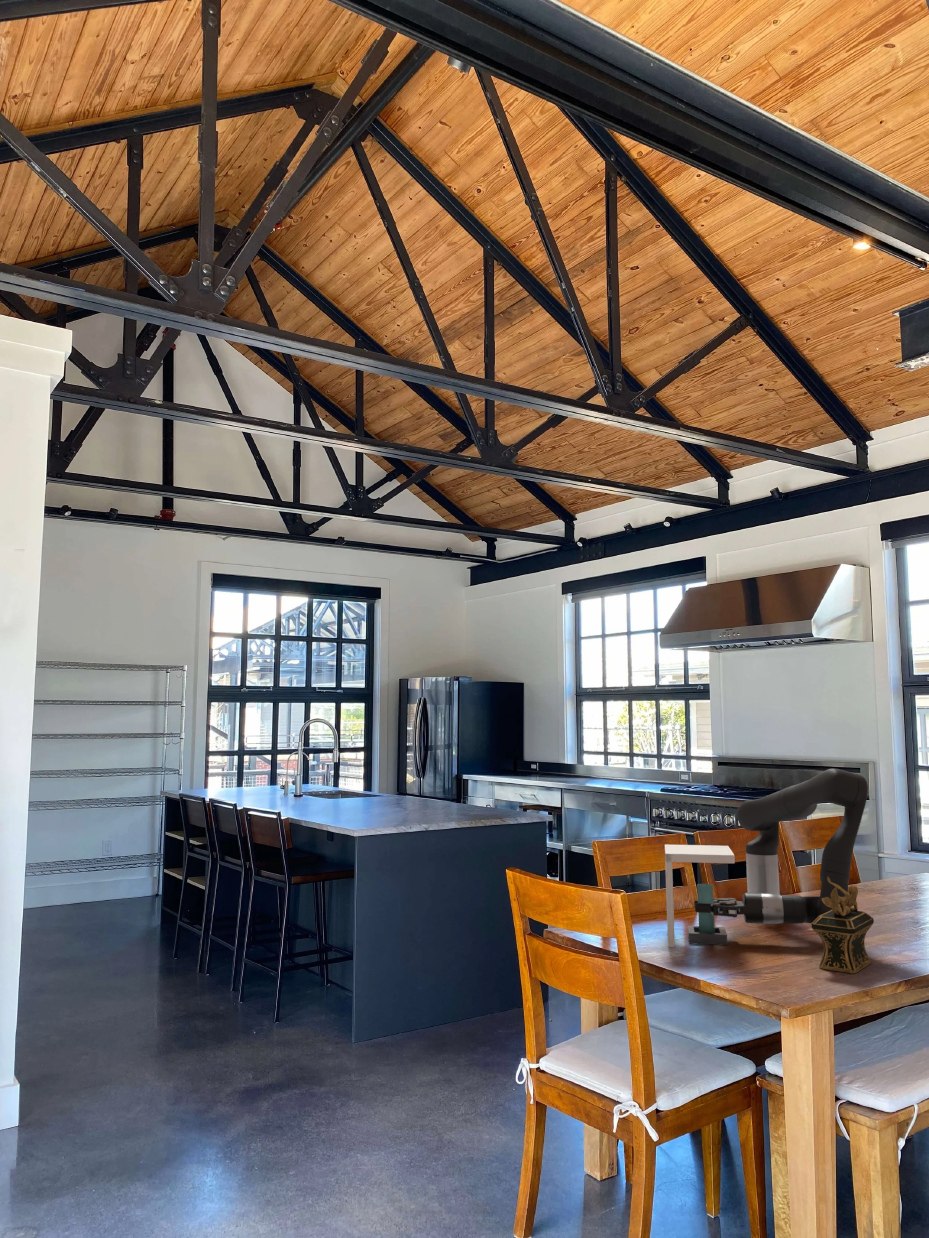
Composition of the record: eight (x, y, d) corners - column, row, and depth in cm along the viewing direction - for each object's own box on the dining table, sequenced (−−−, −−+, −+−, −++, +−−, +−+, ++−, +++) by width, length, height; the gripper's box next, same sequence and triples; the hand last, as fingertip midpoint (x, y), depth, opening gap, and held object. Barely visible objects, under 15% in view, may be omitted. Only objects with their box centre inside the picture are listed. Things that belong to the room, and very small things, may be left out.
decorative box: (835, 955, 213) (830, 872, 216) (877, 962, 207) (872, 875, 210) (806, 972, 198) (801, 882, 201) (851, 979, 192) (845, 886, 195)
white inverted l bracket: (738, 950, 219) (734, 855, 222) (668, 946, 223) (665, 853, 226) (731, 932, 238) (728, 845, 242) (667, 930, 242) (664, 844, 245)
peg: (698, 930, 233) (696, 883, 234) (714, 930, 232) (712, 883, 234) (699, 933, 229) (697, 885, 231) (715, 934, 228) (713, 886, 230)
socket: (687, 935, 236) (687, 925, 236) (724, 936, 234) (724, 926, 234) (689, 943, 227) (688, 933, 227) (727, 944, 225) (727, 934, 225)
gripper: (759, 888, 236) (693, 886, 239) (765, 898, 222) (695, 896, 226) (760, 917, 235) (694, 915, 238) (767, 929, 221) (696, 926, 225)
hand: (695, 906), depth 232 cm, fingers closed on peg, 3 cm apart
